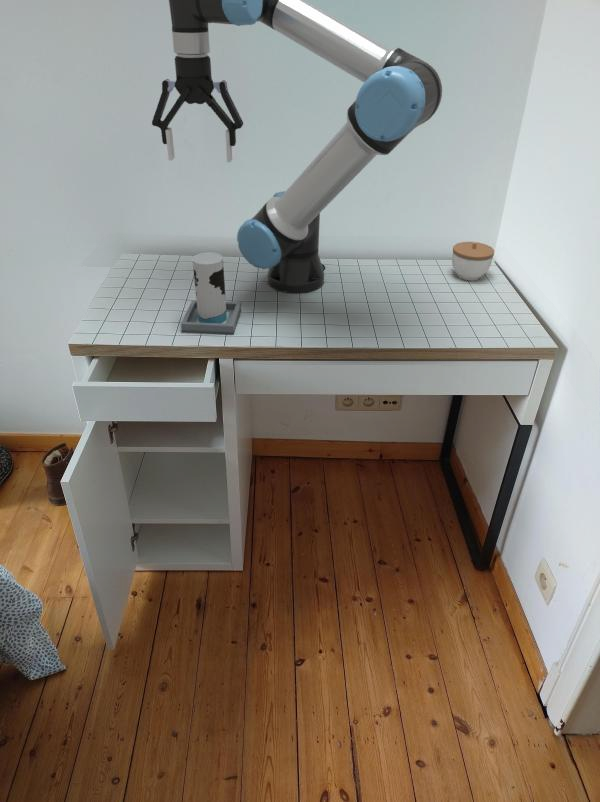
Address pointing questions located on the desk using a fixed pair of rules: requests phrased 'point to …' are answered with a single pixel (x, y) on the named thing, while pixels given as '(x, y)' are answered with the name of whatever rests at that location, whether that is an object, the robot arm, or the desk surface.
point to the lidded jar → (471, 259)
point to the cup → (210, 287)
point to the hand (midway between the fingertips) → (200, 159)
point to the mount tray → (194, 326)
